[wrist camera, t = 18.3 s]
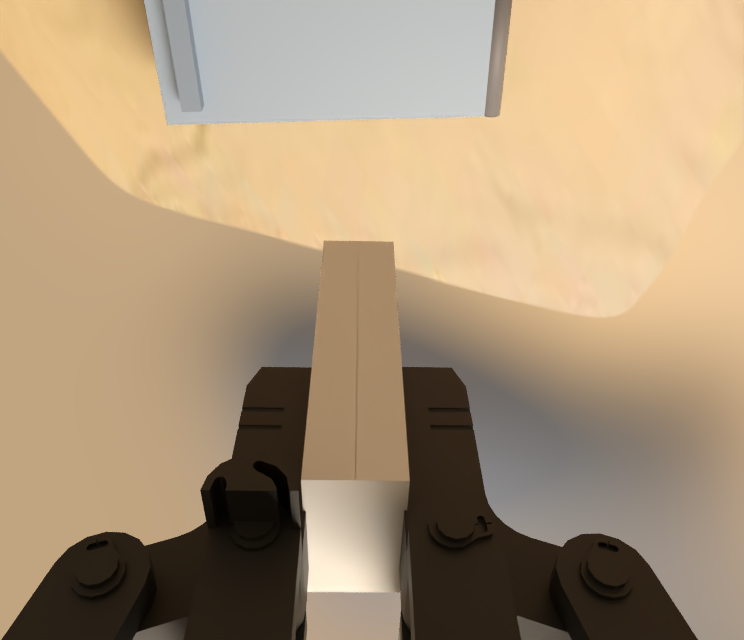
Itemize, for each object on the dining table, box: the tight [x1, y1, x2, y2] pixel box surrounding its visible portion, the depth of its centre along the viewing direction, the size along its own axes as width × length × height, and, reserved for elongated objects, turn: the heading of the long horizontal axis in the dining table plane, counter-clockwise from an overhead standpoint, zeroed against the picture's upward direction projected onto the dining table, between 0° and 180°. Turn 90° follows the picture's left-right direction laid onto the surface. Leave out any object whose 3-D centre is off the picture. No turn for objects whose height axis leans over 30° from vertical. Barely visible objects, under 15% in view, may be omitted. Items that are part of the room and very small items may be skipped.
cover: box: [144, 0, 512, 125], centre depth 34 cm, size 8×18×2 cm, turn 90°
